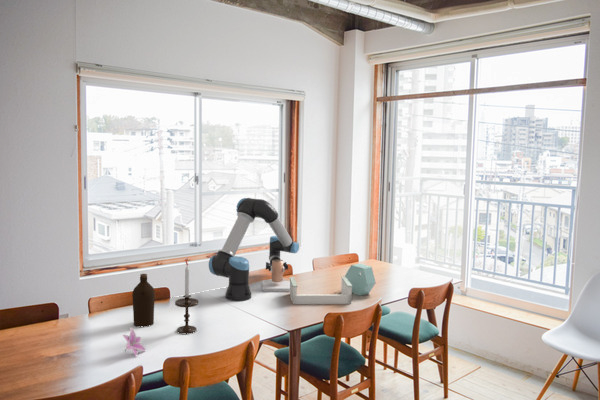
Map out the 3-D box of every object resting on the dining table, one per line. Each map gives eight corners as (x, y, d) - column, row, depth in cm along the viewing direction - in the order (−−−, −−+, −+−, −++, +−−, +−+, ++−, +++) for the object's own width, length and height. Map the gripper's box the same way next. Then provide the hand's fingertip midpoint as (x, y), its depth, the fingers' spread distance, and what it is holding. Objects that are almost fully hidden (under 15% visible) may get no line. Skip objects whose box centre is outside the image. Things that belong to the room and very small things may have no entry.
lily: (120, 364, 201) (132, 344, 200) (108, 345, 208) (119, 326, 207) (144, 363, 211) (155, 345, 210) (131, 345, 217) (142, 327, 217)
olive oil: (158, 324, 243) (158, 275, 241) (138, 329, 236) (138, 278, 234) (148, 318, 251) (148, 270, 248) (128, 323, 244) (128, 273, 241)
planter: (365, 299, 310) (380, 276, 299) (356, 301, 305) (371, 278, 294) (349, 280, 320) (363, 257, 309) (341, 281, 315) (355, 258, 304)
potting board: (263, 291, 304) (263, 288, 304) (262, 283, 322) (262, 280, 322) (292, 291, 306) (292, 288, 306) (289, 283, 324) (289, 280, 324)
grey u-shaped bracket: (292, 304, 281) (292, 285, 280) (289, 293, 301) (289, 276, 300) (351, 303, 285) (352, 285, 284) (344, 293, 305) (345, 276, 304)
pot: (271, 282, 310) (272, 261, 308) (271, 279, 317) (271, 259, 315) (283, 282, 311) (283, 261, 309) (282, 279, 317) (282, 259, 316)
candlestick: (177, 336, 229) (177, 262, 226) (173, 328, 239) (173, 257, 235) (200, 333, 234) (201, 260, 230) (195, 325, 243) (196, 256, 240)
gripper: (290, 267, 334) (293, 276, 311) (260, 267, 331) (261, 276, 309) (290, 256, 333) (293, 264, 310) (260, 256, 330) (262, 264, 308)
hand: (277, 270), depth 309 cm, fingers closed on pot, 7 cm apart
